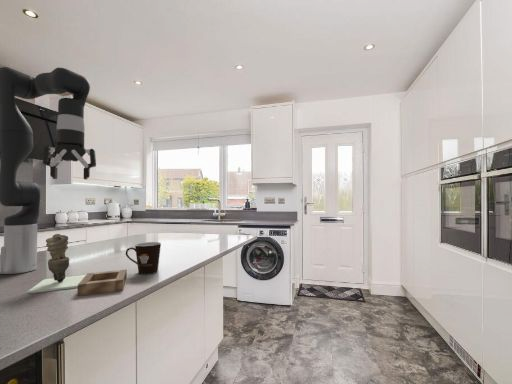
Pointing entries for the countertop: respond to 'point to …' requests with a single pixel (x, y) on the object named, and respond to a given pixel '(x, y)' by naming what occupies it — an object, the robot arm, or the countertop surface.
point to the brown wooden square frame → (102, 282)
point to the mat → (57, 284)
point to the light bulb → (58, 256)
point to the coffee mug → (146, 257)
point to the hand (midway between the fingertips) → (70, 179)
